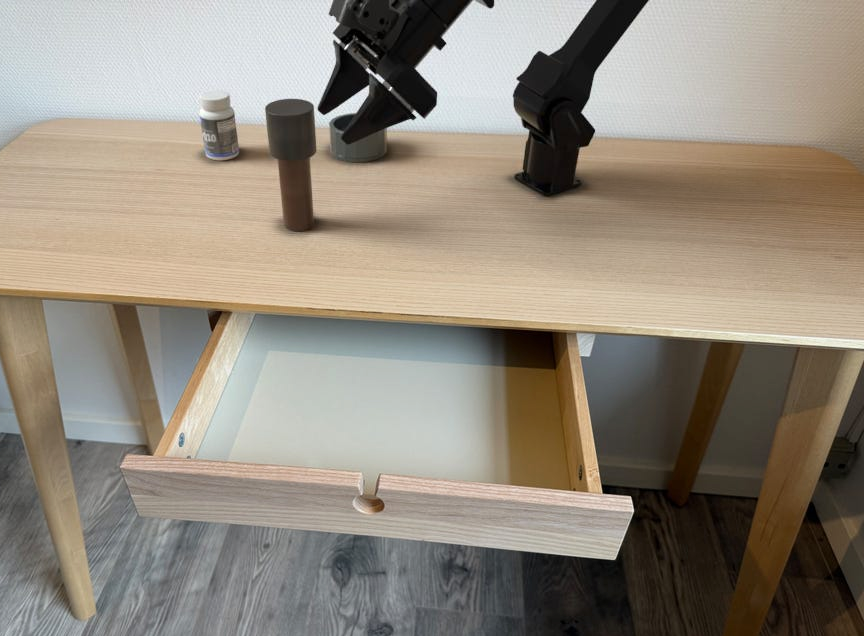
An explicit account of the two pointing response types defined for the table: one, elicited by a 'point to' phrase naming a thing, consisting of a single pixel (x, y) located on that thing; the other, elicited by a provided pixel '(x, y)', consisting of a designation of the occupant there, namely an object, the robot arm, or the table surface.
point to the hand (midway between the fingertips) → (331, 126)
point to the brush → (293, 157)
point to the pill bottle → (218, 125)
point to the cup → (358, 150)
